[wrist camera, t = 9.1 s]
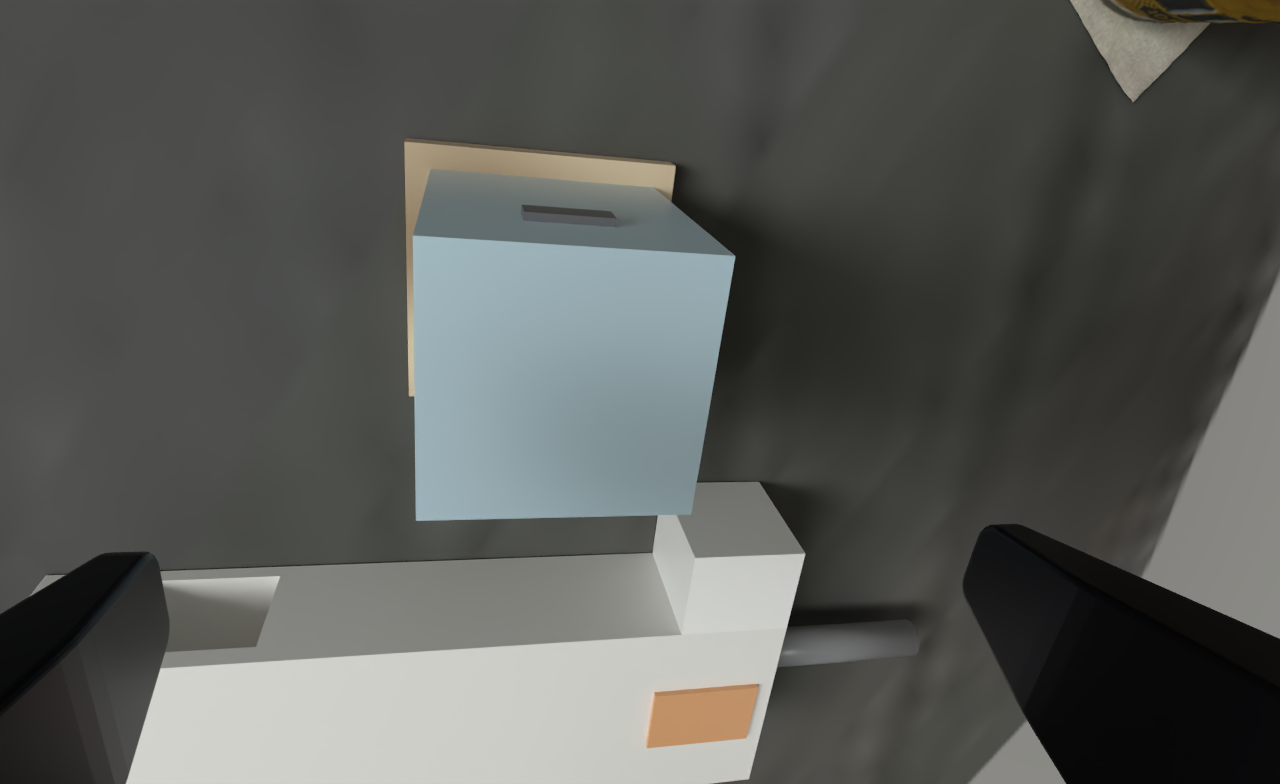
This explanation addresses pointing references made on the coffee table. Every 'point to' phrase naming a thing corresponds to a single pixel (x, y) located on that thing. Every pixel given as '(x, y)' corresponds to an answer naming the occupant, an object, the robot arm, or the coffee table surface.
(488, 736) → the power strip
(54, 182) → the coffee table surface
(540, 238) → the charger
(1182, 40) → the condiment
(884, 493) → the coffee table surface
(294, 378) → the coffee table surface
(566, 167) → the board
